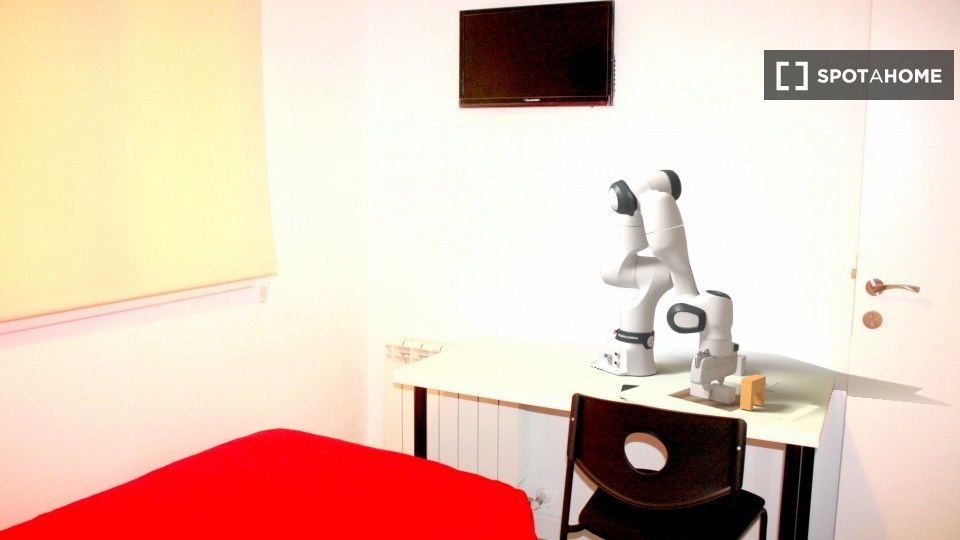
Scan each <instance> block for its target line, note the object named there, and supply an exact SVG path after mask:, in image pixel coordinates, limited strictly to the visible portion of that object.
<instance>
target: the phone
mask: <svg viewBox="0 0 960 540" xmlns="http://www.w3.org/2000/svg"><path fill="white" fill-rule="evenodd" d="M638 387H639V385H636V384H627V383H626V384H622V385H621V389H620V391H621V393H622V392H624V391H628V390H632V389H634V388H638ZM619 398H620V399H621V400H626V398H624V397H622V396H620V397H619Z"/></svg>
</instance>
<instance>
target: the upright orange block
mask: <svg viewBox="0 0 960 540" xmlns="http://www.w3.org/2000/svg"><path fill="white" fill-rule="evenodd" d="M766 379H767V376H766V375H761V374H757V373H756V374H753V375H749V376H747V377H744V378H741V385H740V396H741V398H740V408H739V409H742V410H747V411H753V410H754V405H755V406H760V407H763V406H765V399H766V398H765V395H766V390H765V388H766V386H765V382H766ZM766 383H767V382H766Z"/></svg>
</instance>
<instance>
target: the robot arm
mask: <svg viewBox="0 0 960 540" xmlns="http://www.w3.org/2000/svg"><path fill="white" fill-rule="evenodd" d="M682 189H683V188H682V181H681V179H680V177H679V175H678V173H676V172H675V171H674V170H673V169H661V170H659V171H657V170H656V171H650V172H649V171H648V172H644V173H640V174H637V175H634V176H630V177H628V178H625V179H619V180H617V181H615V182H613V183H612V184H611V185H610V187H609V190H608V200H609V203H610V205H611V209H612V210H613V211H614V212H615V213H617V216H618V219H617V220H618V243H617V245H616V248H615V250H614V251H613V252H612V253H611V254H609V255H608V256H607V257H605V258H604V260H603V261H602V262H601V265H600V267H599V268H600V269H599V270H600V271H599V273H600V277H601V280H602V281H603V283H604V284H606V285H609V286H612V287H615V288H619V289H620V288H622V289H623V288H624V289H636V290H639V292H638V296H636V297H634V298H631V299H629V300H627V301H625V302H624V303H623V304H622V305H621V307H620V319H619V327H618V328H617V329H615V330H613V333H612V334H613V335H615V336H614V339H612V340H611V341H609V342H607V344H605V345H603V346H602V347H601V348H600V349H599V351H598V355H597V359H596V360H593V361H592V362H591V363H590V367H593V368H595V367H596V368H595V369H598V368H599V370H601V369H602V371H604V372H607V373H609V374H613V375H617V376H633V377H634V376H635V377H637V376H639V377H641V376H642V377H643V376H651V375H655V374H657V369H656V368H657V367H656V363H655V357H654V356H655V355H654V345H655V329H654V328H655V327H654V324H655V315H656V309H657V305H658V303H659V301H660V300H661V298H662V297H663V296H664V295H665V294H666V293H667V292H668V291H670V290H672V289H673V288H674V291H675V295H676V301H675V303H673V304H672V305H671V306H670V307H669V309H668V310H667V312H666V322H667V324H668V326H669V328H670V330H672V331H673V332H675V333H677V334H681V335H682V334H683V335H685V334H686V335H687V334H688V335H689V334H695V333H698V334H699V343H698V344H699V345H698V352H697V353H696V354H695V356H694V357H693V359H692V361H691V367H690V372H689V373H690V374H689V375H690V376H689V381H690V383H691V382H692V383H694V384H698V385H702V387H703V389H704V396H707V397H709V396H711V395H712V390H711V389H710V385H711V382H715V383H718V384H722V385H724V382H725V378H726V377H730V376H734V375H733V374H735V372H736V369H737V362H738V355H739V350H740V344H739V343H737V342H734V341H733V336H732V327H733V323H734V304H733V300H732V298H731V296H730V295H729V294H728V293H725V292H723V291H719V290H714V289H708V290H705V291H703V292H702V293H699V290H698V287H697V284H696V281H695V277H694V273H693V270H692V266H691V262H690V256H689V250H688V241H687V235H686V230H685V225H684V221H683V217H682V214H681V212H680V209H679V206H678V204H677V202H676V201H677V200H679V198H680V197H681V194H682V191H683V190H682ZM648 248H650V252H651V253H652V255H653V256H645V255H644V256H642V255H639V254H638V253H639V252H642V251H644V250H647V249H648Z"/></svg>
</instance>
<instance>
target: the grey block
mask: <svg viewBox="0 0 960 540" xmlns="http://www.w3.org/2000/svg"><path fill="white" fill-rule="evenodd" d="M746 363H747V355H746V354H744V355H743V354H738V362H737V369H736V372H735V374H733V375H732V376H734V377H742V376H743V375H744V374H745V373H746V366H747V364H746Z"/></svg>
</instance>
